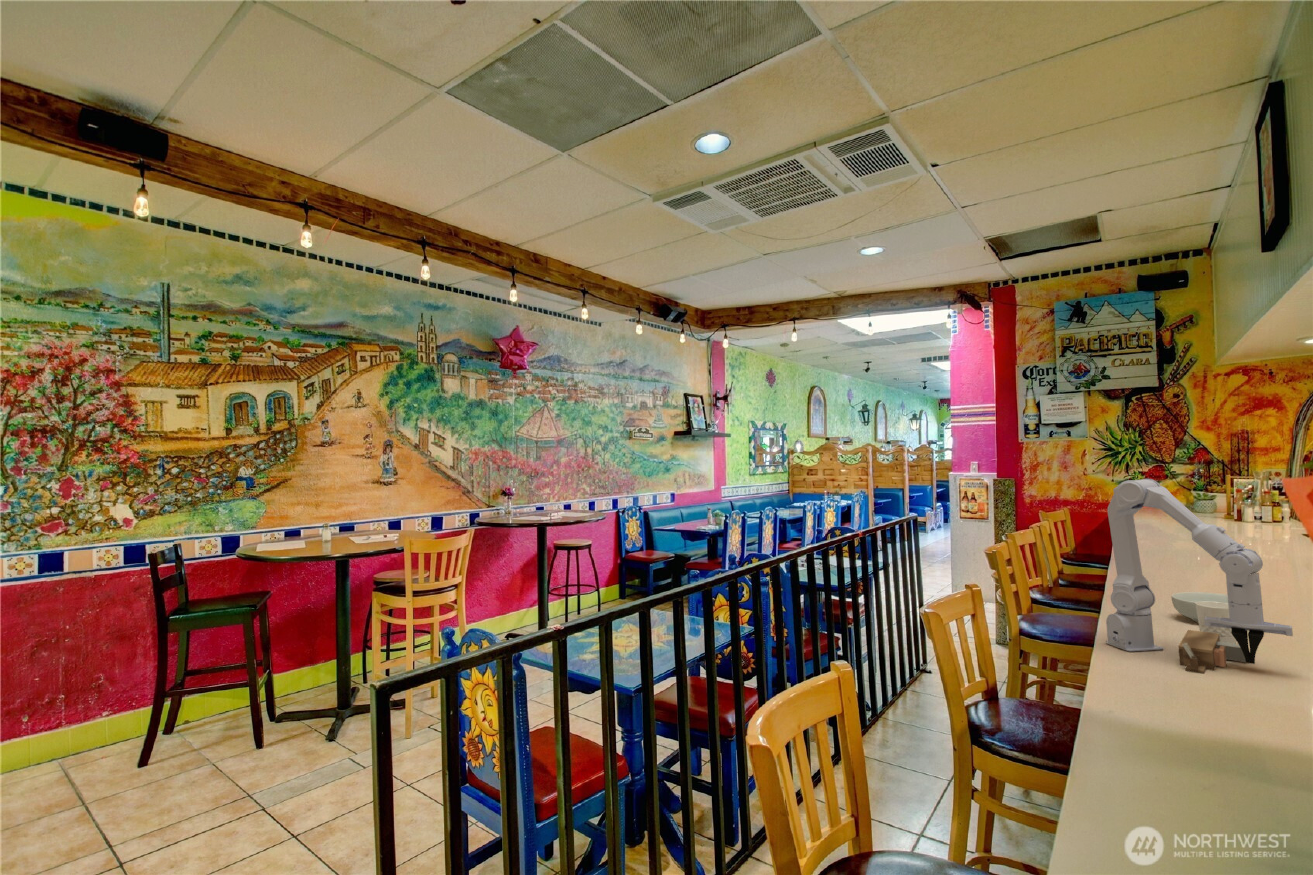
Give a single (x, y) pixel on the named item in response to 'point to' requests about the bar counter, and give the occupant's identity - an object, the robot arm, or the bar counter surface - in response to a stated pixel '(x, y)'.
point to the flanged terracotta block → (1220, 656)
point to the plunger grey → (1232, 651)
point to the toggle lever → (1189, 651)
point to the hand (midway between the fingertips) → (1250, 662)
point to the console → (1199, 650)
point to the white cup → (1217, 611)
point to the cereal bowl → (1194, 602)
